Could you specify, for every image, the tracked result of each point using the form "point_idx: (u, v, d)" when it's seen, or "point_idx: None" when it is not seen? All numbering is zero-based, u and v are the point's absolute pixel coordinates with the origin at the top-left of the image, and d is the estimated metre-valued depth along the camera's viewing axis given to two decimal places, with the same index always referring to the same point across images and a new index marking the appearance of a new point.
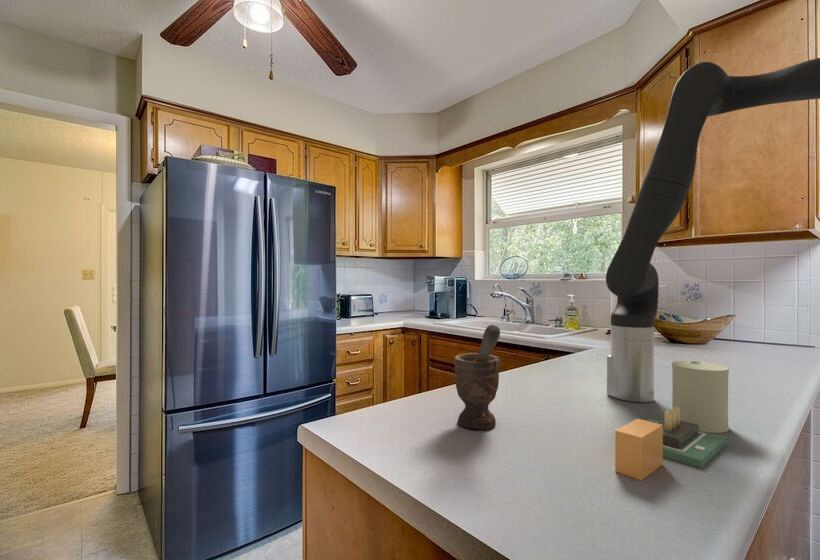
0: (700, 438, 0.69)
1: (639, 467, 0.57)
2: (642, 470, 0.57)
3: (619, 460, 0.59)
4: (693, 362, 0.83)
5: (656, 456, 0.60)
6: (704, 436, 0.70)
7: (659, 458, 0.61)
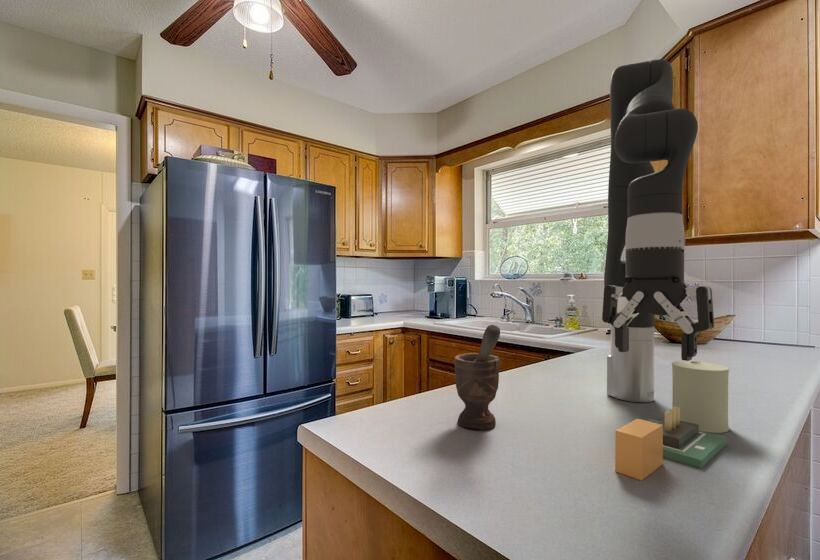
0: (700, 438, 0.69)
1: (639, 467, 0.57)
2: (642, 470, 0.57)
3: (619, 460, 0.59)
4: (693, 362, 0.83)
5: (656, 456, 0.60)
6: (704, 436, 0.70)
7: (659, 458, 0.61)
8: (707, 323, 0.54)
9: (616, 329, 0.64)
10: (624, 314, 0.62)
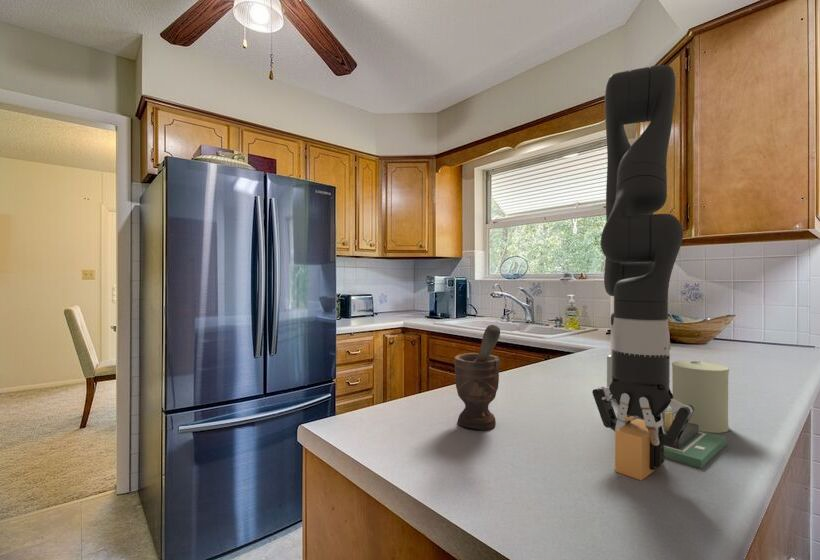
0: (700, 438, 0.69)
1: (639, 467, 0.57)
2: (642, 470, 0.57)
3: (619, 460, 0.59)
4: (693, 362, 0.83)
5: None
6: (704, 436, 0.70)
7: None
8: (673, 440, 0.56)
9: None
10: (620, 419, 0.61)
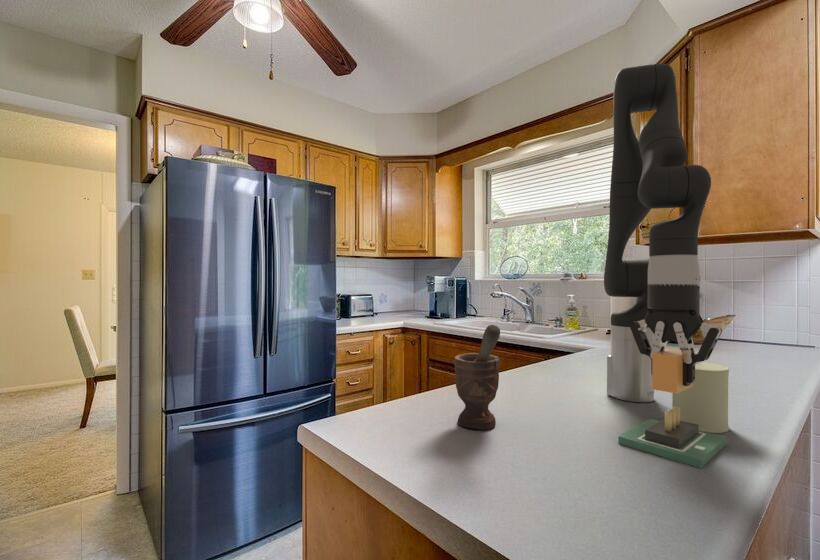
0: (700, 438, 0.69)
1: (674, 382, 0.66)
2: (677, 385, 0.66)
3: (656, 379, 0.68)
4: None
5: None
6: (704, 436, 0.70)
7: None
8: (704, 357, 0.65)
9: None
10: (655, 345, 0.70)
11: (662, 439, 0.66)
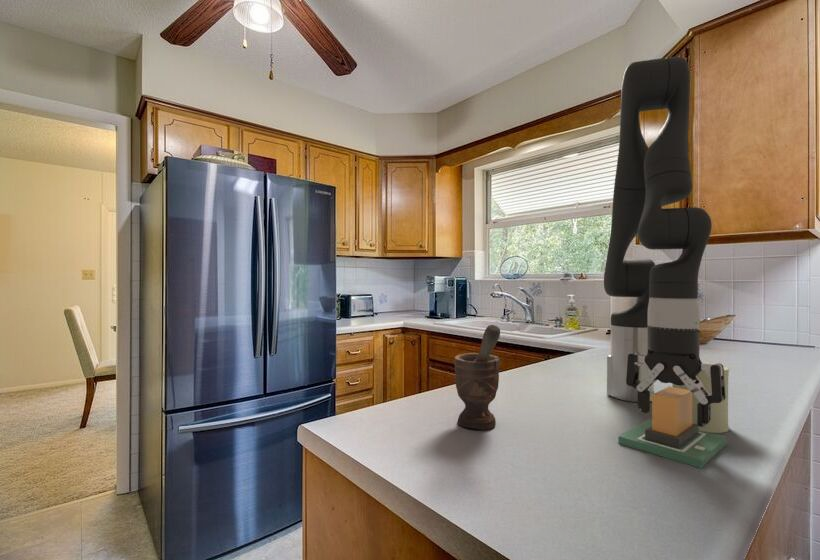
0: (700, 438, 0.69)
1: (674, 424, 0.66)
2: (677, 427, 0.66)
3: (656, 420, 0.68)
4: None
5: (687, 417, 0.69)
6: (704, 436, 0.70)
7: (689, 419, 0.70)
8: (720, 397, 0.64)
9: (639, 392, 0.73)
10: (646, 381, 0.71)
11: (662, 439, 0.66)
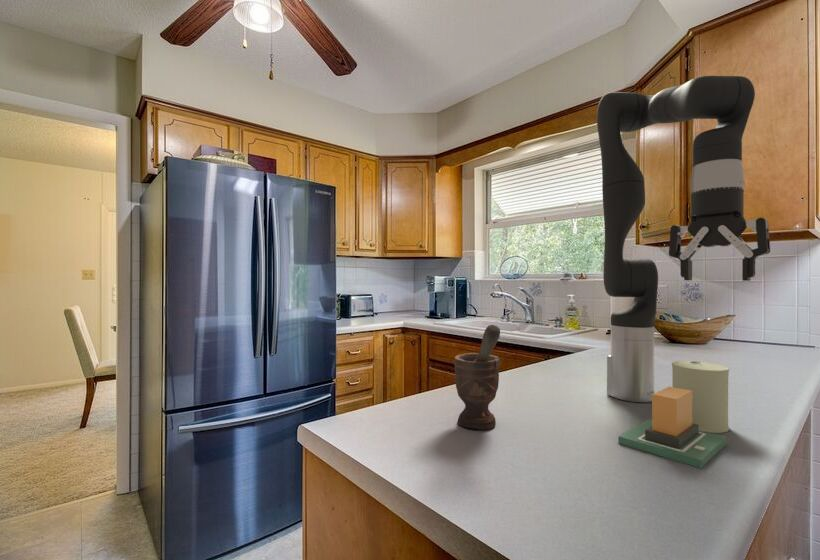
0: (700, 438, 0.69)
1: (674, 424, 0.66)
2: (677, 427, 0.66)
3: (656, 420, 0.68)
4: (693, 362, 0.83)
5: (687, 417, 0.69)
6: (704, 436, 0.70)
7: (689, 419, 0.70)
8: (765, 247, 0.66)
9: (681, 261, 0.76)
10: (690, 247, 0.74)
11: (662, 439, 0.66)
